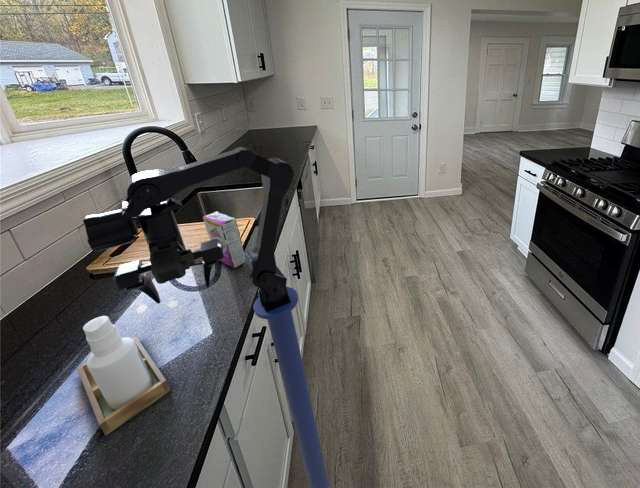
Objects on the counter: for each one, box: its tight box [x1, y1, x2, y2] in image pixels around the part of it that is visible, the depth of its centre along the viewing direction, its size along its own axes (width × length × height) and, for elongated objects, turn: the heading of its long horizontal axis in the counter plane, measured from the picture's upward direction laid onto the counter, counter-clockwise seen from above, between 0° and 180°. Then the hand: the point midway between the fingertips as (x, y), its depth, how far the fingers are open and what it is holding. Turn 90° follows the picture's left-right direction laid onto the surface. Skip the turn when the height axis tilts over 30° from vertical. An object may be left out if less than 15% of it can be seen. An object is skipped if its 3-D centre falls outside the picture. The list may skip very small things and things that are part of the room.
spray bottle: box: [82, 315, 153, 410], centre depth 58 cm, size 7×7×18 cm
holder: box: [76, 335, 172, 437], centre depth 64 cm, size 10×19×3 cm, turn 53°
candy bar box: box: [202, 211, 246, 269], centre depth 102 cm, size 11×5×16 cm, turn 58°
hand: (184, 293), depth 70 cm, fingers open, 9 cm apart
